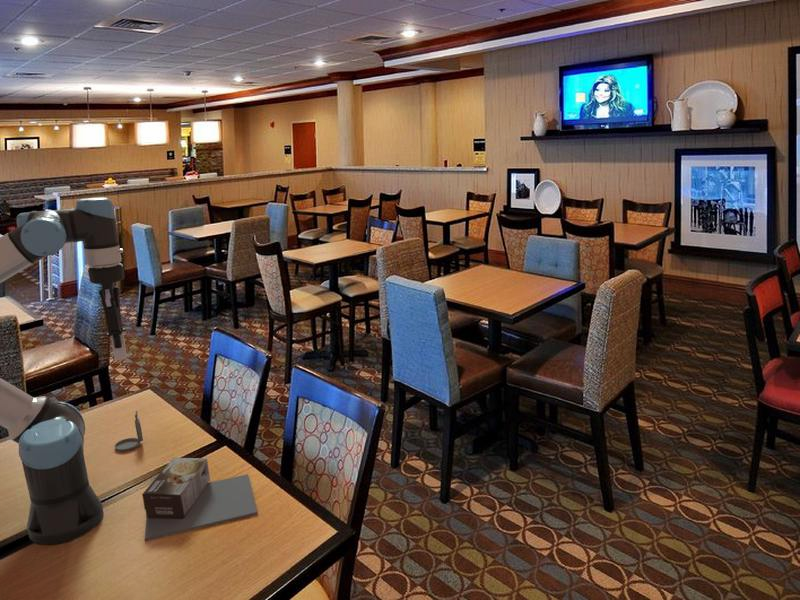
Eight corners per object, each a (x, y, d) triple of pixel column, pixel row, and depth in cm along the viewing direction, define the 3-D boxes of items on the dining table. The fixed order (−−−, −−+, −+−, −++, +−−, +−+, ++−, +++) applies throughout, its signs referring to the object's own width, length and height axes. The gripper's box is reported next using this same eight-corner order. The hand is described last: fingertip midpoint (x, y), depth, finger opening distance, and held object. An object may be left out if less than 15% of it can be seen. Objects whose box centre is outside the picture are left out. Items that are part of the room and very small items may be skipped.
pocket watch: (110, 449, 170) (104, 417, 167) (134, 436, 177) (129, 405, 175) (129, 455, 166) (123, 422, 164) (154, 442, 173) (149, 410, 171)
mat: (145, 541, 130) (144, 538, 130) (147, 498, 146) (147, 495, 145) (257, 514, 138) (257, 511, 138) (248, 476, 154) (248, 474, 153)
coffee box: (176, 479, 152) (144, 518, 137) (172, 457, 150) (140, 493, 135) (211, 480, 151) (183, 519, 136) (208, 457, 150) (179, 494, 134)
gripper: (120, 267, 136) (136, 365, 142) (124, 258, 148) (138, 348, 154) (83, 271, 134) (101, 370, 140) (90, 261, 146) (106, 353, 152)
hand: (120, 358), depth 147 cm, fingers closed
